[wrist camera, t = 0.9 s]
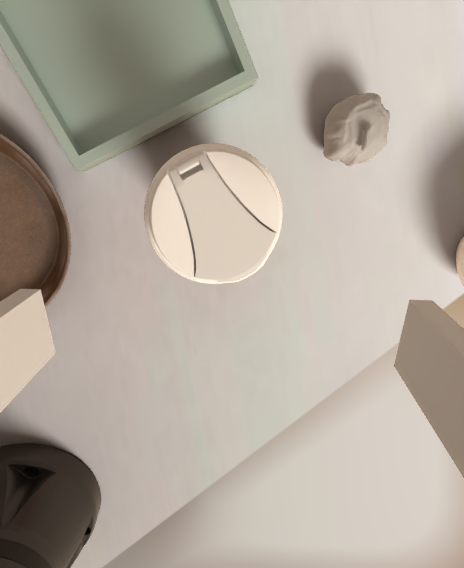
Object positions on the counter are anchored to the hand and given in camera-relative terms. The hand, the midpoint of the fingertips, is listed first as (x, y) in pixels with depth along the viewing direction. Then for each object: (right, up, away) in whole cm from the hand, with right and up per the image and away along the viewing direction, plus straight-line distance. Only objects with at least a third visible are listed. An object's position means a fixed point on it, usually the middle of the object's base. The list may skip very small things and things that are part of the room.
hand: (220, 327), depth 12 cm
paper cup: (-2, +9, +19) cm, 21 cm away
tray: (-8, +22, +14) cm, 27 cm away
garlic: (+11, +15, +19) cm, 26 cm away
